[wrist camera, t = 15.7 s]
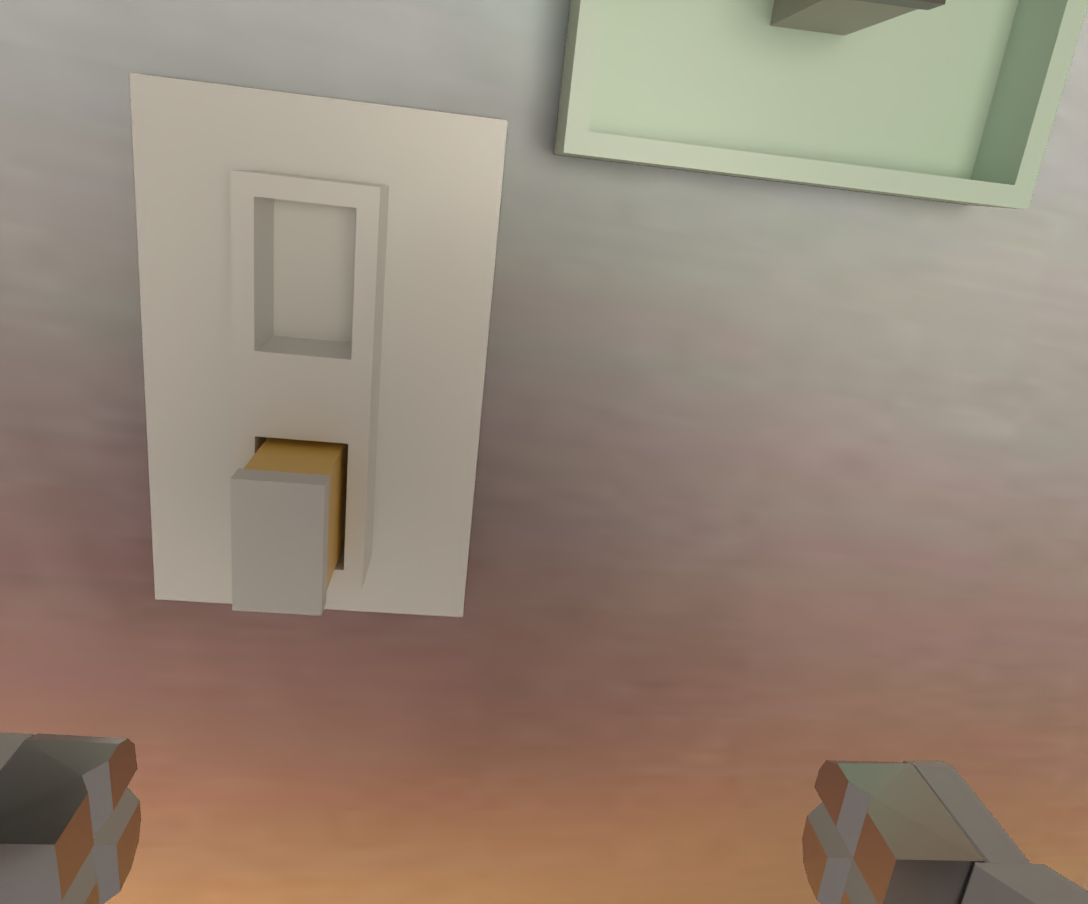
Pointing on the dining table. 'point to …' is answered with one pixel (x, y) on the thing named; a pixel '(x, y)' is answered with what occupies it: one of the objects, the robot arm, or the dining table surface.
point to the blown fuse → (842, 13)
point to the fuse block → (315, 323)
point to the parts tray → (822, 94)
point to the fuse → (287, 525)
